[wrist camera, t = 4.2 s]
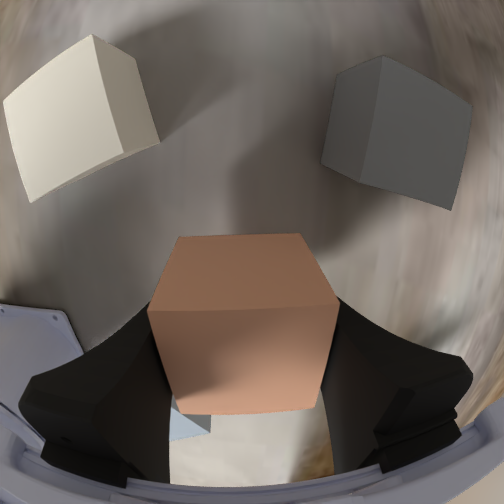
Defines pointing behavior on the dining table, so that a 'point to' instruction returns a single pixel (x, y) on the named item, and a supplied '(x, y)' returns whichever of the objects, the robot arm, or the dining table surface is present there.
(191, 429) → the slate blue cube
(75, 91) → the cream cube
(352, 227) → the dining table surface
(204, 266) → the terracotta cube
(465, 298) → the dining table surface
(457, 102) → the charcoal cube
